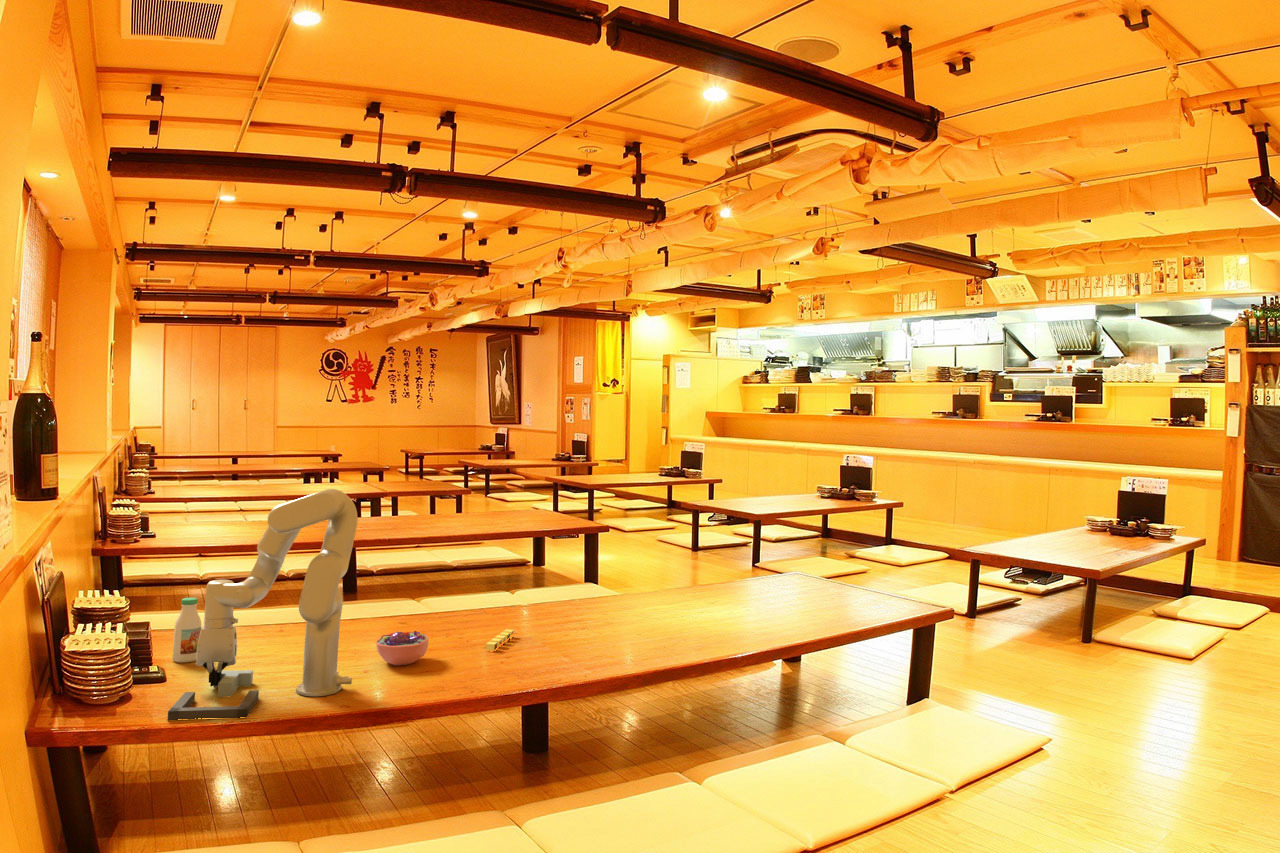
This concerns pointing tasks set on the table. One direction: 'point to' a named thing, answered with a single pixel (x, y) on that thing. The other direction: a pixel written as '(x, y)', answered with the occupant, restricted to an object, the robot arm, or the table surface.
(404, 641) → the cell model
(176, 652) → the milk bottle
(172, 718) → the corral
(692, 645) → the table surface
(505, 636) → the yellow segmented bar
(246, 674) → the t block
